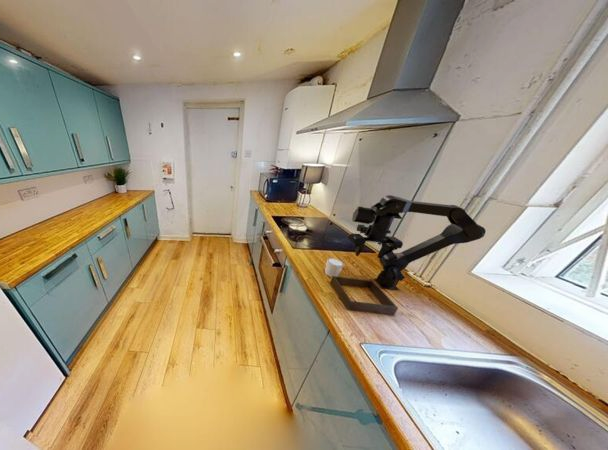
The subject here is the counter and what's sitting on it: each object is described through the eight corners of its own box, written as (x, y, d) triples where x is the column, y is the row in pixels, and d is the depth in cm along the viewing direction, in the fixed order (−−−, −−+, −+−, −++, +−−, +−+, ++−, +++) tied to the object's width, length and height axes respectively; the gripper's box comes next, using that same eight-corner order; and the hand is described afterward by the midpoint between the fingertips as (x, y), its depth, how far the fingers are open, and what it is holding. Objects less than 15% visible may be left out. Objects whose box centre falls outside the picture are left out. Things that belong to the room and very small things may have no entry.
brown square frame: (369, 287, 89) (372, 280, 87) (393, 315, 74) (398, 307, 73) (330, 282, 90) (332, 275, 89) (346, 309, 76) (350, 302, 75)
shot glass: (341, 279, 93) (346, 267, 90) (326, 277, 94) (330, 265, 91) (336, 270, 99) (340, 259, 96) (321, 268, 100) (325, 257, 97)
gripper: (391, 220, 89) (378, 249, 95) (347, 216, 91) (337, 245, 98) (411, 230, 79) (394, 263, 85) (361, 226, 81) (348, 258, 88)
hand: (367, 256), depth 89 cm, fingers open, 9 cm apart
